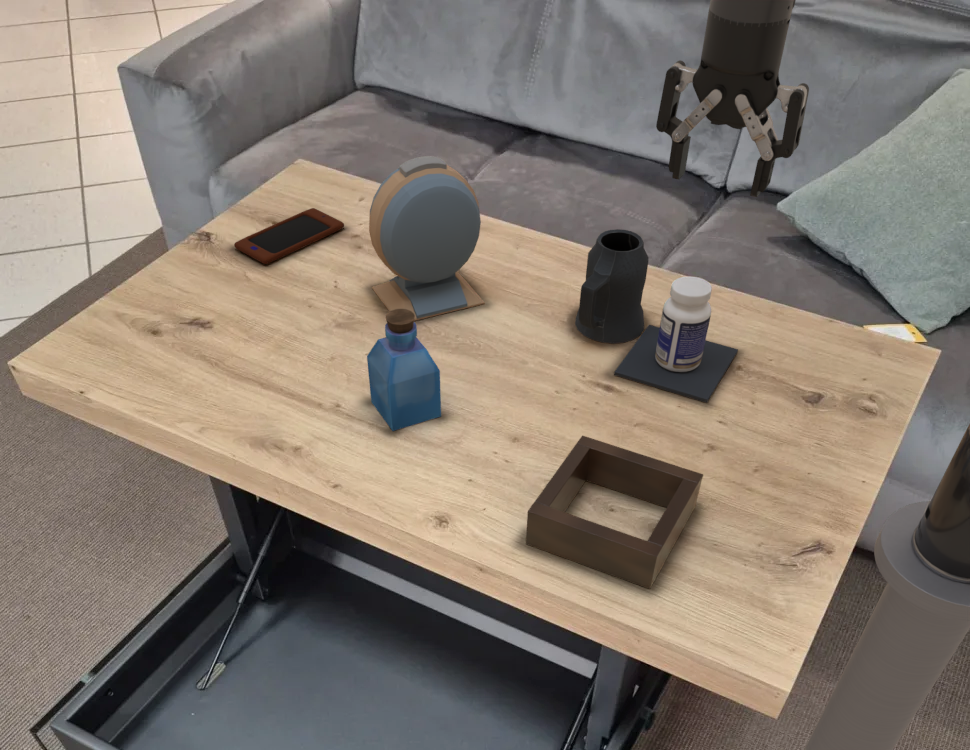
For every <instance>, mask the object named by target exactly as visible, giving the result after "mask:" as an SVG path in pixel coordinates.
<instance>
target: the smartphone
mask: <svg viewBox="0 0 970 750" xmlns="http://www.w3.org/2000/svg"><path fill="white" fill-rule="evenodd" d="M343 228H345V224H344V222H343V221H342V220H339V219H337V218H336V217H333V216H331V215H329V214H327V213H326V212H323V211H321V210H319V209H318V208H314V207H311V208H309V209H306V210H303V211H301V212H299V213H297V214H295V215H293V216H290V217H288V218H286V219H283V220H281V221H279V222H277V223H274V224H272V225H270V226H268V227H265V228H263V229H261V230H259V231H256V232H254V233H252V234H250V235H248V236H245V237H242V238H241V239H239V240H238V241H235V242H234V245H233V247H234V248H235V249H236V250H238V251H240V252H242V253H243V254H245V255H247V256H249V257H251V258H252V259H254V260H256V261H258V262H259V263H262V264H264V265H267V264H270V263H272V262H275V261H277V260H279V259H282V258H283V257H285V256H288V255H290V254H292V253H294V252H295V251H298V250H301V249H303V248H305V247H308V246H309V245H311V244H313V243H315V242H317V241H319V240H322V239H324V238H326V237H328V236H331V235H332V234H334V233H337V232H338V231H340V230H342V229H343Z"/></svg>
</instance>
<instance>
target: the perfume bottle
mask: <svg viewBox="0 0 970 750" xmlns="http://www.w3.org/2000/svg"><path fill="white" fill-rule="evenodd" d="M414 318H415V315H414V313H413V312H412V311H410V310H407V309H394V310H391V311H389V310H388V312H387V313H386V314H385V321H386V324H385V325H384V332H385V337H381V338H378V339H377V340H376V342H375V343H374V345H372V348H370V350H369V352H368V354H367V355H366V362H367V372H368V382H369V392H370V402H371V404H372V405H373V407H374V408H375V410H376V411H377V412H378V413H379V415H380V416H381V418H382V419H383V420H384V422H385V423H386V425H387V426H388V427H389V429H390V430H391V431H392V432H395V431H398V430H402V429H404V428H408V427H411V426H415V425H418V424H421V423H424V422H428V421H431V420H434V419H437V418H441V417H442V400H441V397H442V396H441V370H440V368H439V366H438V365H437V364H436V362H435V361H434V359H433V357H432V356H431V354H430V353H429V351H428V350H427V348H426V346H425V345H424V344H423V343H422V342H421V341H420V340H419V338H418V337H417V336H418V329H417V328H418V327H417V326H418V325H417V323H416V322H415V321H414Z"/></svg>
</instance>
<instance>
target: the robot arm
mask: <svg viewBox="0 0 970 750" xmlns="http://www.w3.org/2000/svg"><path fill="white" fill-rule="evenodd" d="M795 5H796V0H710V1H709V6H708V12H707V18H706V25H705V31H704V38H703V44H702V51H701V56H700V63H699V66H698V68H694V67H689V66H686V63H685V62H684V61H683V60H681V59H679V60H677V61H676V62H674V64H673V65H671V66H670V67H669V68H668V69H667V70H666V72H665V76H664V77H665V78H664V83H663V88H662V94H661V98H660V102H659V103H660V104H659V109H658V114H657V119H656V124H655V128H656V130H657V131H658V132H660V133H665V134H667V135H668V137H670V139H671V147H670V154H669V161H668V172H670V173H672V176H671V177H672V179H674V180H679V181H680V179H681V178H682V177H683V176H684V175H685V173H686V169H687V163H688V156H689V151H690V146H691V145H690V144H691V139H692V136H690V135H689V134H690V132H691V131H692V130H693V129H695V127H696V126H698V125H699V123H700V122H701V121H702V120H703V119H704V118H705V117H706V119H707V120H708V121H710V124H711V125H716V126H724V125H726V126H728V127H730V128H732V129H736V130H742V128H743V129H744V128H746V129H747V132H748V133H749V136H750V138H751V141H753V142H754V143H755V145H756V148H757V151H758V152H759V154H760V156H759V158H758V159H757V162H756V166H755V171H754V176H753V180H752V186H751V189H750V194H749V195H750V197H753V198H758V197H759V196H760V194H761V193H764V192H765V191H766V189H767V188H768V187H769V185H770V184H771V180H772V175H773V171H774V167H775V164H776V159H779V158H783V159H788V158H790V157H791V156H792V155H793V154H794V152H795V150H797V148H798V147H799V144H800V142H801V141H800V140H801V134H802V129H803V124H804V119H805V114H806V109H807V104H808V98H809V93H810V87H809V85H808V84H807V83H805V82H802V83H800V84H798V85H797V86H795V85H787V84H785V85H784V84H781V82H780V77H779V76H780V75H779V74H780V67H781V62H782V59H783V54H784V50H785V45H786V40H787V37H788V31H789V27H790V22H791V18H792V15H793V9H794V8H795ZM690 83H691V84H692V87H693V89H694V92H695V94H696V97H697V100H698V101H699V104H697V106H696V107H695V108H694V109H693V110H692V112H690V113H689V115H688V116H687V117H685V119H683V120H681V119H680V118H678V117H677V114H678V109H679V103H680V99H681V93H683V92H684V91H685V90H686V89H687V88H688V86H689V84H690ZM775 100H778V101H780V103H781V105H780V106H781V110H782V112H784V113H786V116H785V122H784V128H783V134H782V139H779V138H778V135H777V133H776V130H775V127H774V121H773V118H772V116H771V114H770V111H769V109H768V108H769V107H770V106H771V105H772V104H773V103H774V102H775ZM928 501H930V503H929V502H928V504H929V505H928V504H927V506H928V507H926V508H927V509H925V511H924V514H923V516H922V519H921V520H920V522H919V524H918V526H917V527H916V529H915V531H914V533H913V535H912V540H911V543H912V548H913V551H914V553H915V555H916V556H917V558H918V559H919V560H920V561H921V563H922V564H923V565H925V566H926V567H927V568H928V569H930V570H931V571H932V572H934V573H936V574H937V575H939V576H941V577H944V578H946V579H949V580H952V581H955V582H959V583H964V584H970V423H969V424H968V426H967V428H966V430H965V432H964V434H963V436H962V438H961V440H960V442H959V444H958V446H957V448H956V450H955V451H954V454H953V456H952V458H951V459H950V462H949V464H948V466H947V468H946V469H945V471H944V473H943V475H942V478H941V479H940V482H939V483H938V486H937V488H936V489H935V491H934V493H933V496H932V497H930V499H929V500H928Z"/></svg>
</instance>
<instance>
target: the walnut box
mask: <svg viewBox="0 0 970 750" xmlns="http://www.w3.org/2000/svg"><path fill="white" fill-rule="evenodd" d="M703 477H704V474H703V473H701V472H697V471H694V470H691V469H688V468H685V467H681V466H679V465H675V464H673V463H669V462H667V461H663V460H660V459H658V458H654V457H651V456H648V455H644V454H641V453H638V452H635V451H633V450H629V449H626V448H623V447H619V446H616V445H614V444H610V443H608V442H604V441H601V440H599V439H595V438H591V437H589V436H586V435H581V436H580V438H579V439H578V440H577V442H576V443H575V444H574V446H573V448H572V449H571V451H570V452H569V453H568V455H567V456H566V458H565V459H564V460H563V462H562V463H561V464H560V466H559V467H558V468H557V470H556V471H555V473H554V474H553V476H552V477H551V478H550V479H549V481H548V483H547V484H546V485H545V486H544V488H543V489H542V490H541V492H540V494H539V495H538V496H537V498H536V499H535V501H534V502H533V503H532V505H531V506H530V507H529V509H528V510H527V517H526V533H525V545H528V546H530V547H533V548H536V549H539V550H541V551H544V552H547V553H550V554H551V555H552V554H553V555H555V556H557V557H561V558H563V559H565V560H569V561H572V562H575V563H577V564H579V565H582V566H586V567H589V568H591V569H594V570H597V571H599V572H602V573H604V574H607V575H610V576H612V577H615V578H619V579H621V580H624V581H627V582H630V583H632V584H635V585H637V586H639V587H643V588H645V589H648V590H650V589H651V588H652V587H653V585H654V583H655V581H656V579H657V577H658V575H659V574H660V572H661V570H662V568H663V566H664V565H665V563H666V561H667V559H668V557H669V555H670V553H671V552H672V550H673V548H674V547H675V545H676V543H677V541H678V539H679V537H680V536H681V534H682V532H683V530H684V528H685V526H686V524H687V523H688V521H689V519H690V517H691V515H692V514H693V512H694V510H695V508H696V506H697V503H698V502H697V501H698V497H699V494H700V489H701V487H702V486H701V485H702V481H703ZM586 482H588V483H592V484H594V485H598V486H601V487H604V488H606V489H610V490H612V491H615V492H619V493H622V494H625V495H628V496H631V497H633V498H637V499H640V500H642V501H645V502H649V503H651V504H654V505H657V506H660V507H663V508H665V510H664V511H663V513H662V515H661V517H660V518H659V520H658V522H657V524H656V525H655V527H654V529H653V530H652V532H651V534H650V535H649V538H648V539H647V540H646V539H643V538H640V537H637V536H634V535H632V534H631V535H630V534H628V533H625V532H622V531H619V530H616V529H615V528H611V527H608V526H605V525H603V524H599V523H596V522H594V521H592V520H588V519H585V518H582V517H580V516H576V515H574V514H571V513H568V512H566V511H567V509H568V508H569V506H570V505H571V503H572V502H573V501H574V499H575V498H576V496H577V494H578V493H579V492H580V490H581V489H582V487H583V485H584V484H585V483H586Z"/></svg>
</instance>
